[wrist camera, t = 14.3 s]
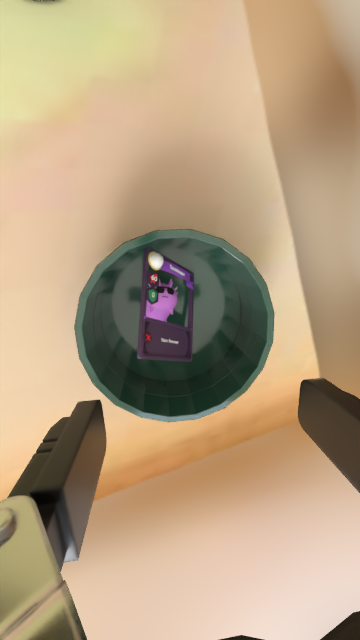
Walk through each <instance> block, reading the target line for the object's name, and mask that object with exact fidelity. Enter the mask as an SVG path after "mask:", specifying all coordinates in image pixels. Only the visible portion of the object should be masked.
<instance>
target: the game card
mask: <svg viewBox="0 0 360 640" xmlns="http://www.w3.org/2000/svg"><path fill="white" fill-rule="evenodd" d="M149 265H150V266H151V267H152V269H154V270H151V271H148V270H149ZM159 269H161V270H163V271H166V272H169V273H172V274H174V275H176V276H178V277H180V278H182V279H184V280H186V281H187V282H186V284H187V286H188V287H189V296H188V327H185V326H181V325H177V324H173V323H169V322H167V317H168V316H169V315H170V313H171V315H173V309H174V307H175V306H176V303H177V294H178V292H176V290H177V287H176V288H172V284H173V282H172V278H171V279H170V282H169V284H168V285H167V284H165V283H160V279H159V275H158V274H157V273H156V271H155V270H159ZM148 283H149V288H148V287H147V286H148ZM193 304H194V273H193V272H191V271H190V270H188V269H186V268H185V267H183V266H181V265H179V264H178V263H176V262H174V261H173V260H171V259H169V258H167V257H166V256H164V255H162V254H160V253H159V252H157V251H155V250H154V249H152V248H150V247H147V248H145V249H144V259H143V274H142V288H141V303H140V317H139V332H138V347H137V358H138V359H152V360H170V361H187V362H191V361H192V345H193Z"/></svg>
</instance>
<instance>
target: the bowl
mask: <svg viewBox="0 0 360 640" xmlns="http://www.w3.org/2000/svg"><path fill="white" fill-rule="evenodd" d="M147 247H150V248H152V249H154V250H155V251H157V252H159V253H160V254H162V255H164V256H166V257H167V258H169V259H171V260H173V261H174V262H176V263H178V264H179V265H181V266H183V267H185V268H186V269H188V270H190V271H191V272H193V273H194V304H193V345H192V361H191V362H187V361H170V360H152V359H138V358H137V347H138V332H139V317H140V303H141V288H142V274H143V259H144V249H145V248H147ZM151 270H154V269H152V267H151V266H150V265H149V270H148V271H151ZM155 271H156V273H157V274H158V275H159V279H160V283H165V284H167V285H168V284H169V282H170V279H171V278H172V282H173V284H172V288H176V287H177V290H176V292H178V294H177V303H176V306H175V307H174V309H173V315H171V313H170V315H169V316H168V317H167V322H169V323H173V324H177V325H181V326H185V327H188V296H189V287H188V286H187V284H186V282H187V281H186V280H184V279H182V278H180V277H178V276H176V275H174V274H172V273H169V272H166V271H163V270H161V269H159V270H155ZM147 287H148V288H149V283H148V286H147ZM74 326H75V327H74V329H75V335H76V341H77V347H78V354H79V357H80V358H79V359H80V360H81V362H82V364H83V366H84V368H85V370H86V372H87V374H88V375H89V377H90V379H91V381H92V383H93V384H94V385H95V386H96V387H97V388H98V389H99V390H100V391H101V392H102V393H103V394H104V395H105V396H106V397H107V398H108V399H109V400H110V401H111V402H113V403H114V404H115V405H116V406H118V407H120V408H122V409H124V410H126V411H128V412H130V413H132V414H135V415H137V416H139V417H141V418H147V419H152V420H158V421H164V422H176V421H185V420H194V419H199V418H201V417H204V416H206V415H209V414H211V413H214V412H216V411H219V410H221V409H223V408H225V407H226V406H228V405H229V404H230V403H232V402H233V401H234V400H236V399H237V398H238V397H240V396H241V395H242V394H243V393H245V392H246V391H247V390H248V388H249V387H250V386H251V384H252V383H253V382H254V380H255V379H256V378H257V376H258V375H259V374H260V372H261V371H262V370H263V368H264V365H265V362H266V359H267V357H268V354H269V351H270V349H271V346H272V343H273V331H274V310H273V306H272V302H271V299H270V295H269V291H268V288H267V285H266V282H265V281H264V279H263V278H262V277H261V275H260V274H259V272H258V271H257V269H256V268H255V266H254V265H253V263H252V262H251V260H250V259H249V258H248V257H247V256H245V255H244V254H243V253H241V252H240V251H239V250H237V249H236V248H235V247H233V246H232V245H231V244H229V243H228V242H226V241H225V240H224V239H221V238H218V237H215V236H212V235H208V234H205V233H202V232H199V231H196V230H192V229H179V230H157V231H153V232H151V233H148V234H145V235H143V236H140V237H138V238H135V239H132V240H130V241H127V242H125V243H123V244H122V245H120V246H119V247H118V248H117V249H116V250H115V251H113V252H112V253H111V254H110V255H109V256H108V257H106V258H105V259H104V260H103V261H102V262H101V263H99V264H98V265H97V267H96V268H95V270H94V272H93V273H92V275H91V277H90V279H89V280H88V282H87V284H86V286H85V287H84V289H83V291H82V292H81V295H80V298H79V304H78V309H77V314H76V320H75V325H74Z"/></svg>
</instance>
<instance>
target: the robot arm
mask: <svg viewBox="0 0 360 640" xmlns="http://www.w3.org/2000/svg"><path fill="white" fill-rule="evenodd" d="M35 1H54V0H35ZM298 418H299V422H300V424H301V426H302V428H303V430H304V431H305V432H306V433H307V434H308V435H309V436H310V438H311V439H312V440H313V441H314V442H315V443H316V444H317V445H318V447H319V448H320V449H321V450H322V451H323V452H324V453H325V454H326V456H327V457H328V458H329V459H330V460H331V461H332V462H333V463H334V465H335V466H336V467H337V468H338V469H339V470H340V471H341V472H342V474H343V475H344V476H345V477H346V478H347V479H348V480H349V481H350V483H351V484H352V485H353V486H354V487H355V488H356V489H357V490H358V492H359V493H360V399H359V398H357V397H356V396H354V395H351V394H349V393H347V392H344V391H342V390H341V389H339V388H338V387H336V386H335V385H333V384H332V383H330V382H329V381H327V380H326V379H324V378H318V379H308V380H303V381H302V382H301V386H300V397H299V407H298ZM105 451H106V431H105V424H104V417H103V410H102V404H101V401H100V400H92V401H82V402H78V403H77V405H76V407H75V409H74V410H73V412H72V414H71V416H70V417H64V418H62V419H61V420H59V421H58V422H57V423H56V424H55V425H54V426H53V427H51V428H50V430H49V431H48V433H47V435H46V436H45V438H44V439H43V443H41V444H40V446H39V448H38V449H37V451H36V454H34V456H33V457H32V459H31V460H30V462H29V464H28V465H27V467H26V469H25V470H24V472H23V473H22V475H21V477H20V478H19V480H18V481H17V483H16V485H15V486H14V488H13V490H12V491H11V493H10V494H9V496H8V498H7V499H4V500H2V501H0V640H87V638H86V635H85V633H84V630H83V627H82V624H81V621H80V618H79V616H78V613H77V610H76V608H75V605H74V602H73V599H72V596H71V594H70V591H69V588H68V586H67V584H66V582H65V580H64V581H63V579H62V576H61V573H60V572H61V569H62V566H63V562H69V561H76V560H78V558H79V554H80V550H81V546H82V542H83V538H84V534H85V530H86V526H87V523H88V519H89V515H90V511H91V506H92V503H93V499H94V495H95V491H96V487H97V483H98V479H99V475H100V471H101V468H102V464H103V460H104V456H105ZM220 640H263V639H258V638H253V637H248V636H243V635H240V636H235V637H230V638H225V639H220ZM320 640H360V611H359V612H354V613H352V614H351V615H350V616H349V617H348V618H346V619H345V620H344V621H343V622H341V623H340V624H339V625H338V626H336V627H335V628H334V629H333V630H332V631H330V632H329V633H328V634H327V635H325V636H324V637H323V638H322V639H320Z"/></svg>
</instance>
